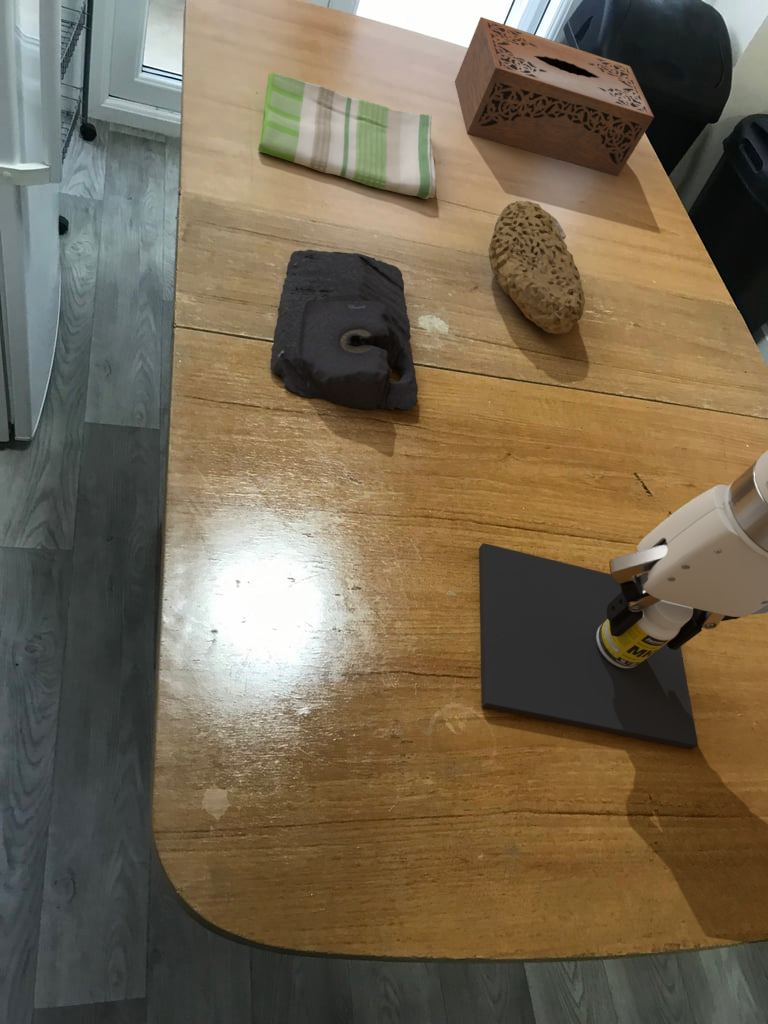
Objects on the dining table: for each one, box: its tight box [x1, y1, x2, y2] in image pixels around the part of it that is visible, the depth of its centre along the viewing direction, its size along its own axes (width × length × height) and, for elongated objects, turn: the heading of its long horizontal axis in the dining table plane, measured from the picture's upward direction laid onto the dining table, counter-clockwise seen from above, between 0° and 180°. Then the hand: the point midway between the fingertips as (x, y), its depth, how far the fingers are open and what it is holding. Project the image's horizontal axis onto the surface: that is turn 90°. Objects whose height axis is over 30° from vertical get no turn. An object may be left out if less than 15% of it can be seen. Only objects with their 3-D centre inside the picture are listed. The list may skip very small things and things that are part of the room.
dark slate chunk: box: [269, 249, 419, 411], centre depth 88 cm, size 15×22×5 cm
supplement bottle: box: [596, 590, 693, 668], centre depth 73 cm, size 5×5×8 cm
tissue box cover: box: [454, 16, 655, 177], centre depth 127 cm, size 26×14×10 cm, turn 95°
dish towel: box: [257, 71, 437, 200], centre depth 110 cm, size 17×23×4 cm
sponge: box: [488, 200, 586, 335], centre depth 103 cm, size 13×8×20 cm
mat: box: [478, 542, 699, 750], centre depth 76 cm, size 20×16×1 cm
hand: (641, 627), depth 73 cm, fingers closed on supplement bottle, 4 cm apart
